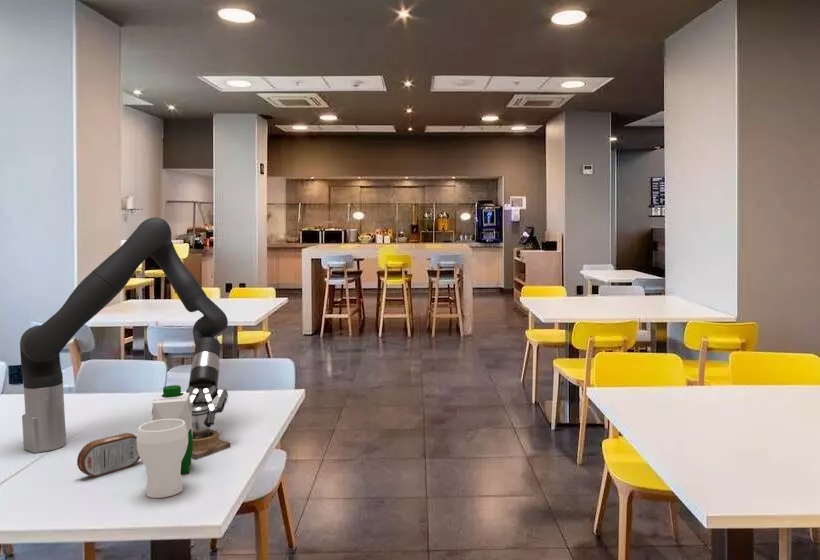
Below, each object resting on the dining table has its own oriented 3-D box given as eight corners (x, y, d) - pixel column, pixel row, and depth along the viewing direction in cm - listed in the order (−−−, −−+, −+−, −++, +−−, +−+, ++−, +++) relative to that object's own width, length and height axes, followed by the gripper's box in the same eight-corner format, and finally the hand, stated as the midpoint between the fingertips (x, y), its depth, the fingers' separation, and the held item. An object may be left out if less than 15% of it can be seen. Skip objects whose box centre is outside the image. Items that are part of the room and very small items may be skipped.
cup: (196, 481, 141) (193, 417, 140) (181, 500, 131) (178, 431, 130) (150, 482, 141) (147, 418, 140) (130, 502, 130) (127, 433, 129)
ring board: (196, 459, 155) (195, 444, 155) (169, 452, 161) (168, 437, 161) (230, 446, 165) (230, 432, 164) (203, 440, 171) (203, 426, 170)
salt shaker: (198, 444, 159) (196, 410, 159) (185, 440, 162) (183, 407, 162) (214, 438, 164) (213, 405, 163) (201, 435, 167) (200, 402, 166)
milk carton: (195, 461, 154) (191, 383, 153) (192, 474, 145) (188, 392, 144) (157, 465, 152) (154, 386, 150) (152, 479, 143) (148, 395, 142)
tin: (139, 460, 156) (138, 428, 155) (145, 463, 154) (144, 430, 153) (77, 479, 144) (75, 444, 143) (83, 482, 142) (81, 447, 141)
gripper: (175, 365, 168) (166, 421, 157) (229, 363, 170) (224, 417, 159) (180, 380, 174) (172, 435, 163) (232, 377, 176) (228, 431, 165)
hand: (198, 426), depth 161 cm, fingers closed on salt shaker, 5 cm apart
